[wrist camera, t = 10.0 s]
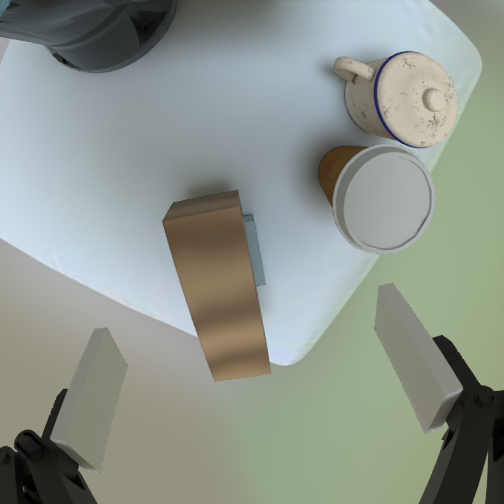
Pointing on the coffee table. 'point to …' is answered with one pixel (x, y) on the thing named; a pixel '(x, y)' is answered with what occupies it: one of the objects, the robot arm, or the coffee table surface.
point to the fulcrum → (254, 250)
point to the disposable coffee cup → (378, 195)
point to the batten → (219, 283)
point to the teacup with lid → (400, 97)
